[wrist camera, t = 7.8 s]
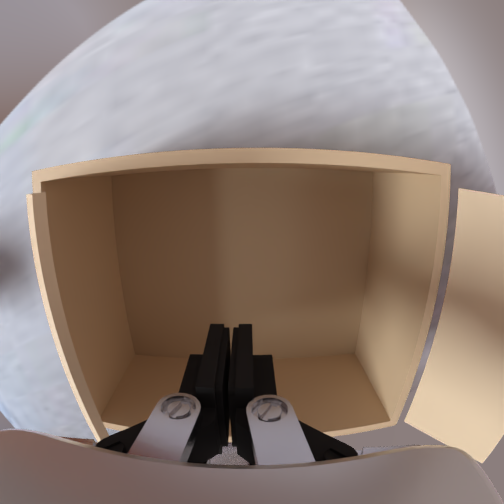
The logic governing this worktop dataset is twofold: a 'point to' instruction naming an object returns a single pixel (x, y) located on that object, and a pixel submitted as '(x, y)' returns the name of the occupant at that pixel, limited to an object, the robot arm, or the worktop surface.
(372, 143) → the worktop surface
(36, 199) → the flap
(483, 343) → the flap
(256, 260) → the carton
